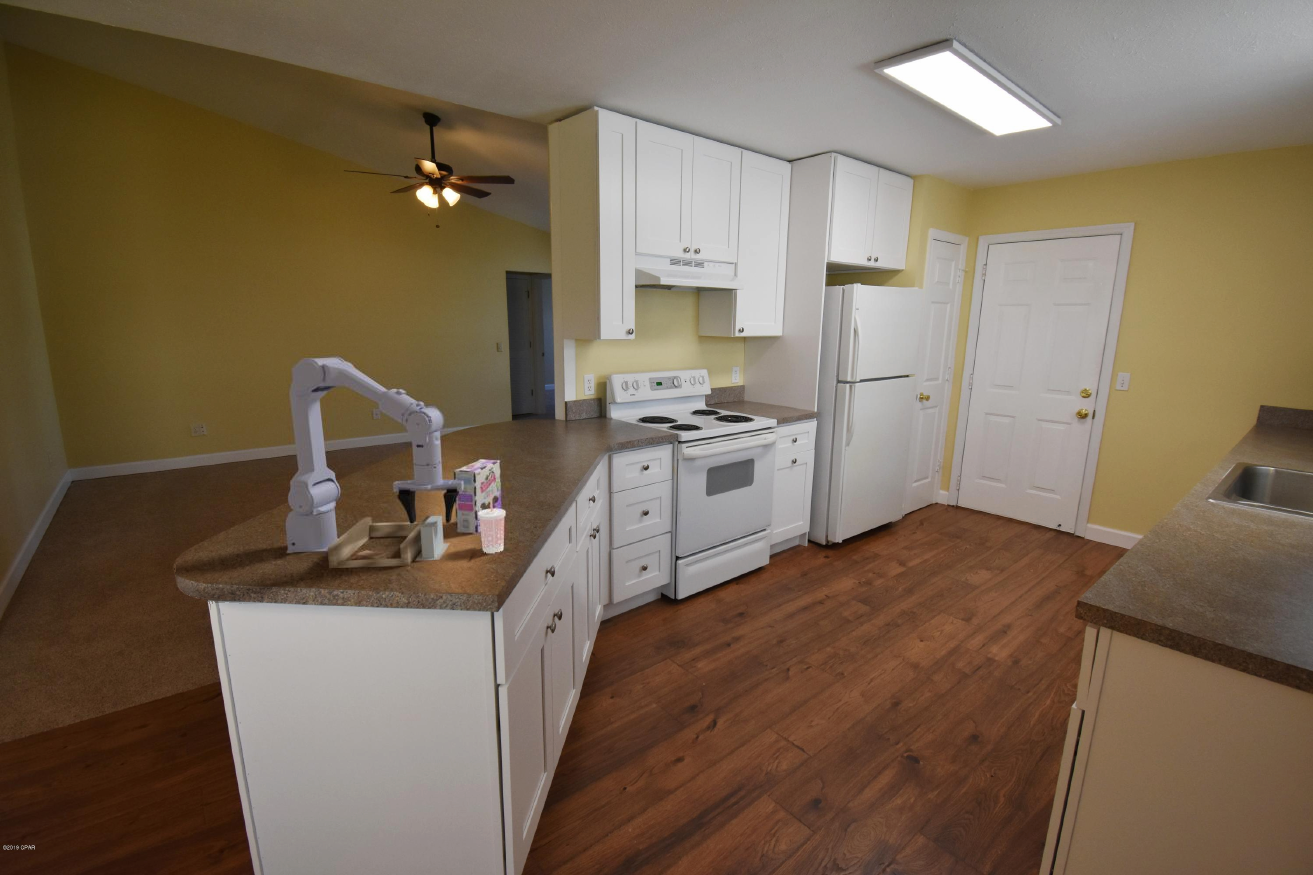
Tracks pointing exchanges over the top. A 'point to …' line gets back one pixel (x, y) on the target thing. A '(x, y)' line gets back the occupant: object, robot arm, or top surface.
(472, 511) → the candy box
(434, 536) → the panel
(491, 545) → the beverage cup
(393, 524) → the rack
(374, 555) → the offcut short
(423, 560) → the mat
